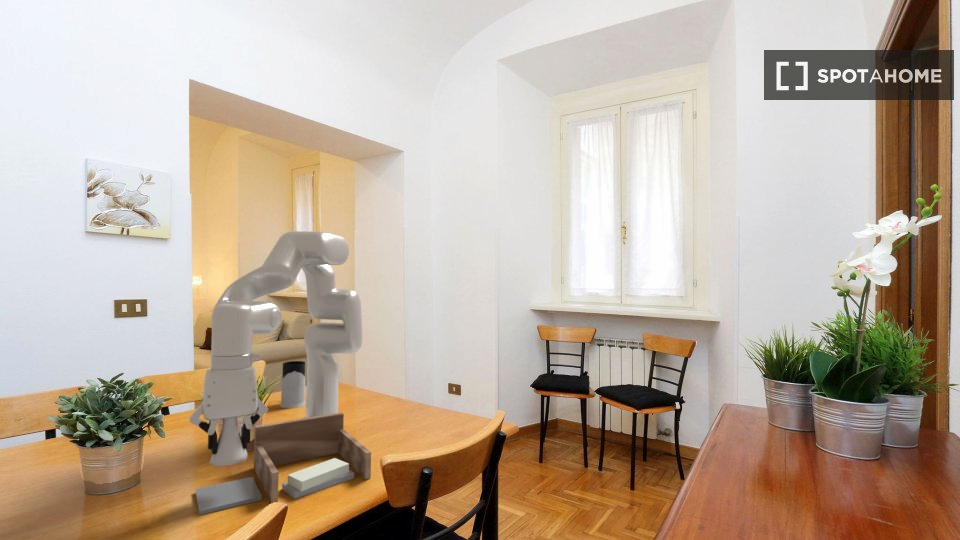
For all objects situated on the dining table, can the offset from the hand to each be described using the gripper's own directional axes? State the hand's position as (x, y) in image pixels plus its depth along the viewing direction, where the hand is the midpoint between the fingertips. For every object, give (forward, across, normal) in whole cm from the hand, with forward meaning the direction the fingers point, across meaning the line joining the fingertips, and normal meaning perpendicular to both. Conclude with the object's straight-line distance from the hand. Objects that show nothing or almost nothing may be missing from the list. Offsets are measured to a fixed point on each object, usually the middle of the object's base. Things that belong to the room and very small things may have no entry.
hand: (229, 448), depth 96 cm
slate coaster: (+10, 0, 0) cm, 10 cm away
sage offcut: (+9, -18, +4) cm, 20 cm away
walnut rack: (+10, -18, -2) cm, 20 cm away
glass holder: (+10, -29, -67) cm, 74 cm away
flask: (+3, 0, 0) cm, 3 cm away
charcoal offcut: (+11, -18, +4) cm, 21 cm away
